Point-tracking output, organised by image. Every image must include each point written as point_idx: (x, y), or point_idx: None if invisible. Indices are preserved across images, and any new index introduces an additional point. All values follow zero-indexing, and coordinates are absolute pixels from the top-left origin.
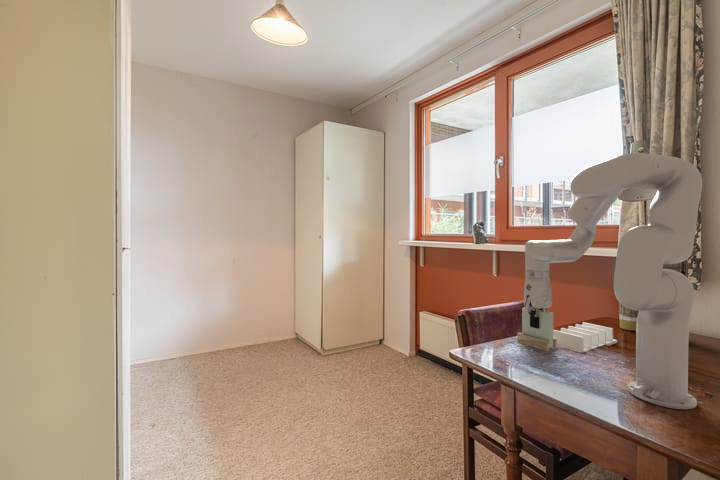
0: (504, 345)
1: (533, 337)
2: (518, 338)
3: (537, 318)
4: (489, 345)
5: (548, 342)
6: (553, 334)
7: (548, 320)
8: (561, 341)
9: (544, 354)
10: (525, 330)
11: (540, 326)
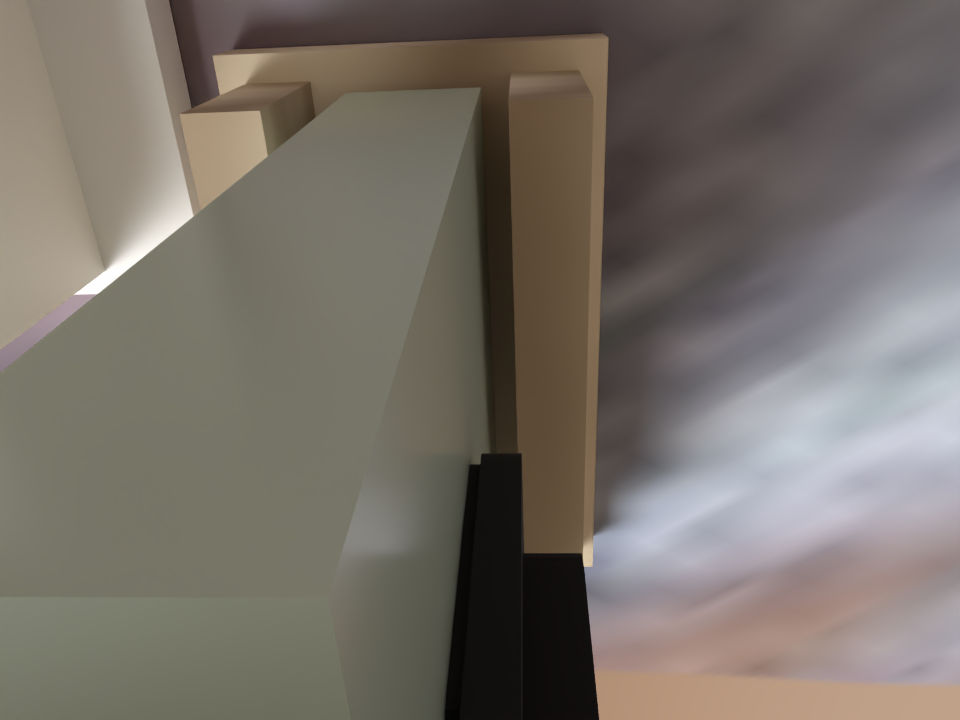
0: (782, 558)
1: (582, 390)
2: None
3: (521, 699)
4: (944, 635)
5: (525, 93)
6: (17, 320)
7: (413, 347)
8: (22, 129)
9: (668, 43)
10: None
11: (461, 456)
